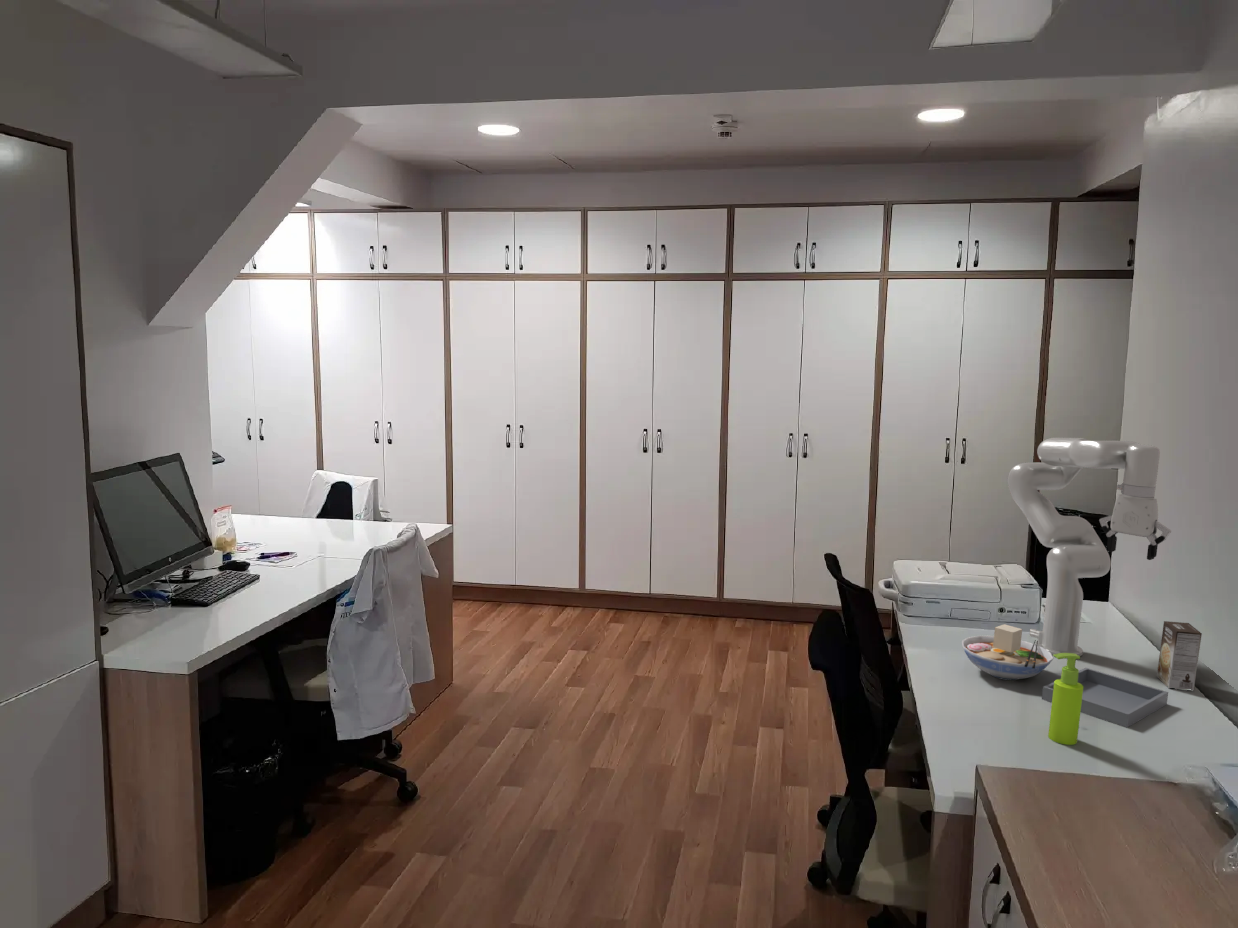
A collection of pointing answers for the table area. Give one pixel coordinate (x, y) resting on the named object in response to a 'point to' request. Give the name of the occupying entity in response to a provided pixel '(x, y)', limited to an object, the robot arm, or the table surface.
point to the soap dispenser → (1066, 703)
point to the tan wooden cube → (1007, 638)
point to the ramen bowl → (1006, 658)
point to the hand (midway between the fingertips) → (1130, 555)
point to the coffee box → (1179, 655)
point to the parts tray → (1114, 697)
